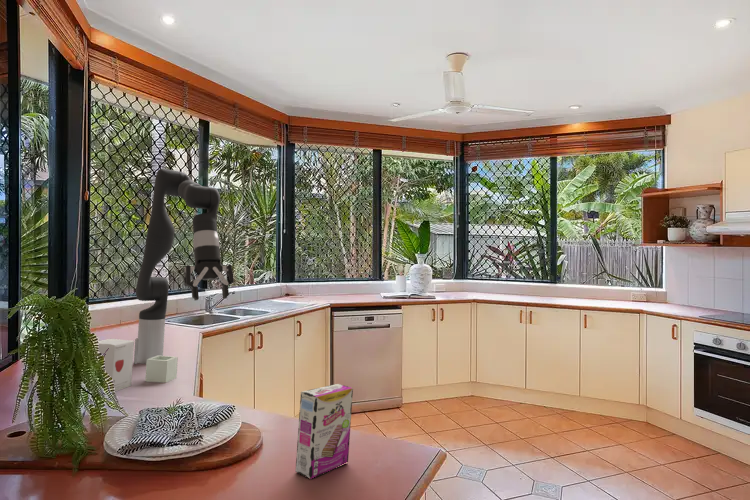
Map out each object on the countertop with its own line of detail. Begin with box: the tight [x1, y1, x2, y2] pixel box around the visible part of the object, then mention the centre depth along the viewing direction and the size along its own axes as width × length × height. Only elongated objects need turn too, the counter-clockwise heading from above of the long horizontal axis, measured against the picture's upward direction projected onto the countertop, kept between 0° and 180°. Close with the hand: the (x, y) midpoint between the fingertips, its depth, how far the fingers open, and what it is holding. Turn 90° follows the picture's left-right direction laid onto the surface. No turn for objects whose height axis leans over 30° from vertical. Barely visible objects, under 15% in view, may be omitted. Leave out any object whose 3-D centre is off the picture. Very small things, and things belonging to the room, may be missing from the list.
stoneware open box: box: [144, 355, 179, 384], centre depth 160 cm, size 7×7×8 cm
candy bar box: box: [295, 383, 354, 480], centre depth 100 cm, size 11×5×16 cm, turn 141°
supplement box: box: [98, 338, 135, 392], centre depth 147 cm, size 9×9×15 cm
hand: (211, 299), depth 145 cm, fingers open, 8 cm apart
